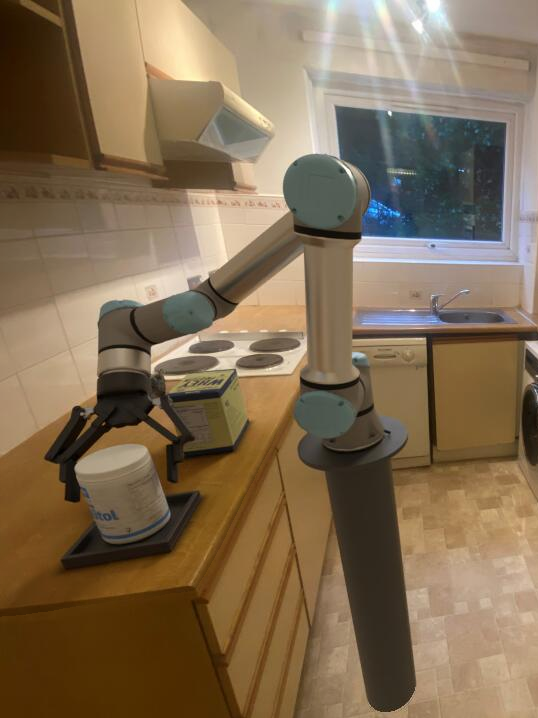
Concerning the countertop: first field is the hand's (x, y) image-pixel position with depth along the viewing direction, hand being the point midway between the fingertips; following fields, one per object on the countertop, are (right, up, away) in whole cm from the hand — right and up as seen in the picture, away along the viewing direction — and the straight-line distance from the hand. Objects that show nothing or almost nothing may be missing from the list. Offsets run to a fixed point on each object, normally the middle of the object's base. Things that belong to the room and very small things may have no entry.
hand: (124, 491), depth 73 cm
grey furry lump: (-44, +15, +58) cm, 74 cm away
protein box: (-7, +4, +34) cm, 35 cm away
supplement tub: (-1, -8, +4) cm, 9 cm away
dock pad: (-1, -8, +4) cm, 9 cm away
